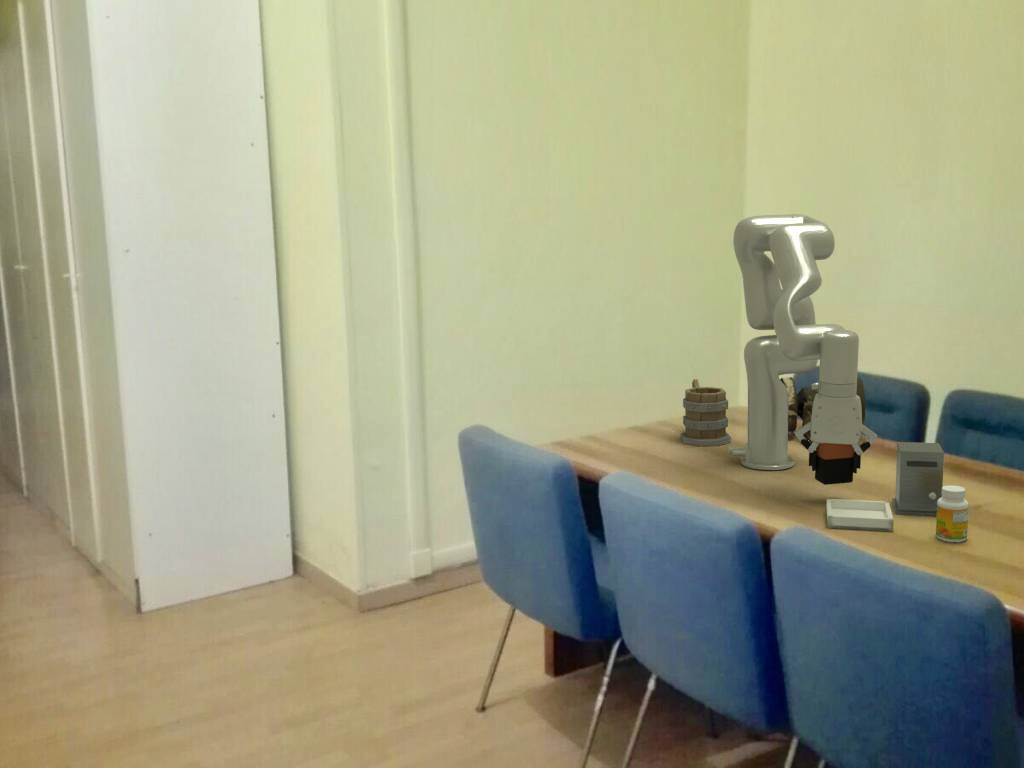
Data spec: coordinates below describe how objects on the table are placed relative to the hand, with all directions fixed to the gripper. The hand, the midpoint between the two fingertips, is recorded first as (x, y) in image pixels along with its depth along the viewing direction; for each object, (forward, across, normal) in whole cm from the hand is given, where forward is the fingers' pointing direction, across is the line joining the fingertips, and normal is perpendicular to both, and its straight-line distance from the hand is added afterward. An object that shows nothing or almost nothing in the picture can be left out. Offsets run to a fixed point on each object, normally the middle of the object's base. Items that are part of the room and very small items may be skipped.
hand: (834, 470), depth 208 cm
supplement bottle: (+6, +20, -21) cm, 30 cm away
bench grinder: (+9, -1, +58) cm, 59 cm away
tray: (+6, +4, -13) cm, 15 cm away
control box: (+6, +16, -3) cm, 18 cm away
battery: (+3, 0, 0) cm, 3 cm away
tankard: (+9, -32, +54) cm, 64 cm away
